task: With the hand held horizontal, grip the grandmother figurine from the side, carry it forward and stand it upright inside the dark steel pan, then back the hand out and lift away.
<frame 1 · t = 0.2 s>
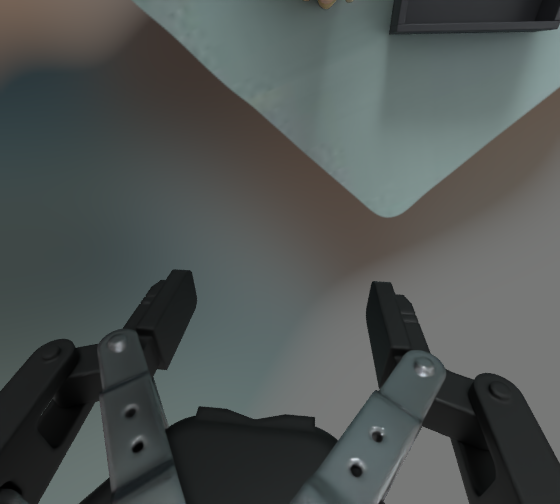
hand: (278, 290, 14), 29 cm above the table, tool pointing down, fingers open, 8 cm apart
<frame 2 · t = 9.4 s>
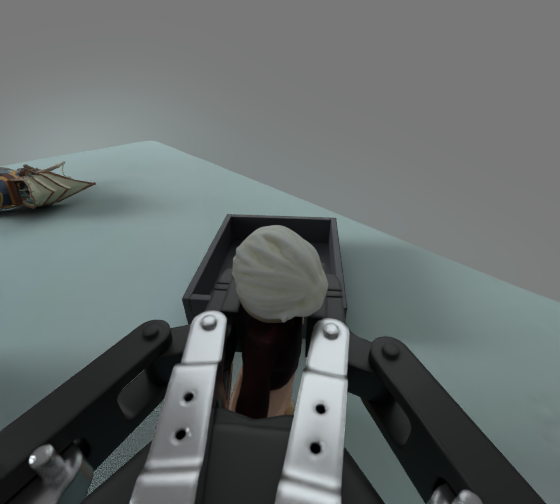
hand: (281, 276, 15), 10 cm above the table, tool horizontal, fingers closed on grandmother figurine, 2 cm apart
grandmother figurine: (262, 433, 17), point 1 cm above the table, touching gripper
figurine: (33, 205, 46), on the table
pan: (274, 279, 30), on the table
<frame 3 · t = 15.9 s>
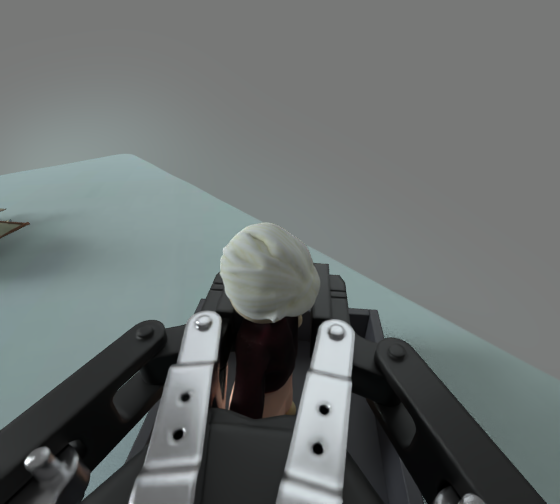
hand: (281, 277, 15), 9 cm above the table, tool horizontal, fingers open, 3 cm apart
grandmother figurine: (263, 436, 17), resting on pan, touching gripper
pan: (276, 436, 17), on the table
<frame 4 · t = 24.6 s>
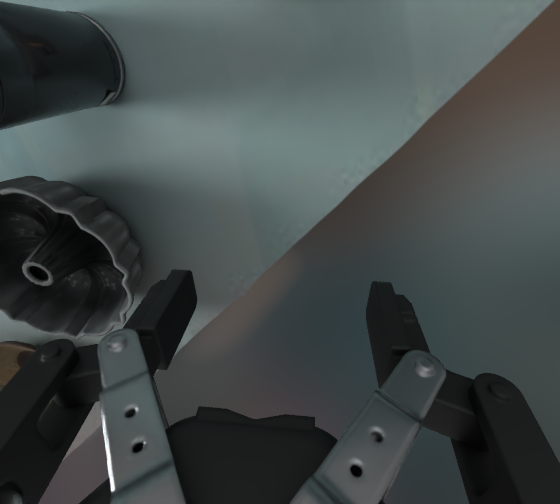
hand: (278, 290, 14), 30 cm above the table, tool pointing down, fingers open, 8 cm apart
oil lamp: (40, 356, 71), on the table
bundt pan: (83, 238, 51), on the table
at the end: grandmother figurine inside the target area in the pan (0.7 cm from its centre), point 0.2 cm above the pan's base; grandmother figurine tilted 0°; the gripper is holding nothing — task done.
